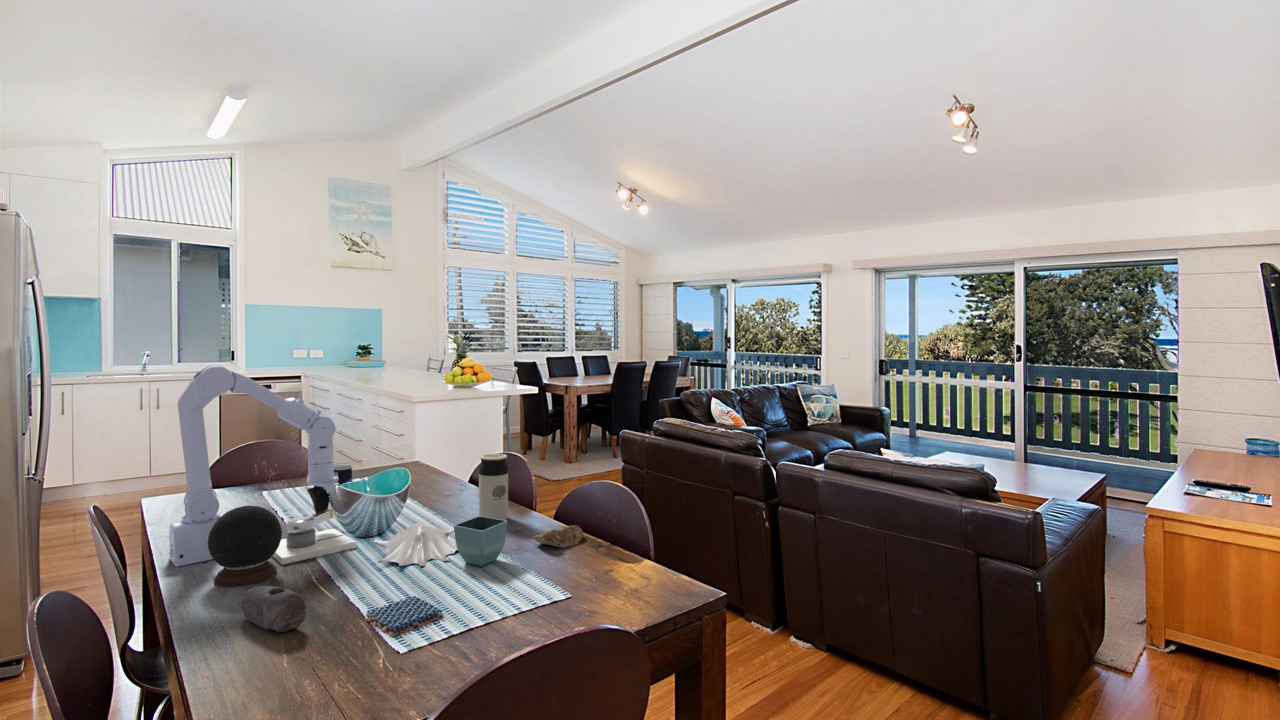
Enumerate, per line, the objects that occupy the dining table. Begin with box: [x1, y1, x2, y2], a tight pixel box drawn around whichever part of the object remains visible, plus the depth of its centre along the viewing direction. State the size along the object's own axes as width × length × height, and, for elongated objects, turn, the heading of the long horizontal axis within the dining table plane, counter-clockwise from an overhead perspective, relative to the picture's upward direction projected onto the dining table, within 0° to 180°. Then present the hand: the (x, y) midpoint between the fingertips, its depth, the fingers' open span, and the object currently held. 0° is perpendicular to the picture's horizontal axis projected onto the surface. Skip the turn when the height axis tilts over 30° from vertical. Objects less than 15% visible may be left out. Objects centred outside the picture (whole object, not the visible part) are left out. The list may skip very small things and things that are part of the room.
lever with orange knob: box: [286, 508, 334, 534], centre depth 149 cm, size 14×6×2 cm, turn 171°
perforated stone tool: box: [240, 585, 307, 633], centre depth 108 cm, size 15×5×7 cm, turn 61°
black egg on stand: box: [208, 505, 283, 589], centre depth 129 cm, size 13×13×15 cm
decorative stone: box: [532, 524, 584, 549], centre depth 153 cm, size 10×4×15 cm
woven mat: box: [364, 595, 444, 637], centre depth 111 cm, size 10×11×2 cm
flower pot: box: [453, 515, 508, 567], centre depth 140 cm, size 9×9×9 cm
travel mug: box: [478, 453, 509, 521], centre depth 172 cm, size 8×8×18 cm
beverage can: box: [333, 462, 353, 484], centre depth 187 cm, size 6×6×12 cm
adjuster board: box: [272, 528, 357, 565], centre depth 147 cm, size 16×14×4 cm
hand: (321, 515), depth 156 cm, fingers closed
